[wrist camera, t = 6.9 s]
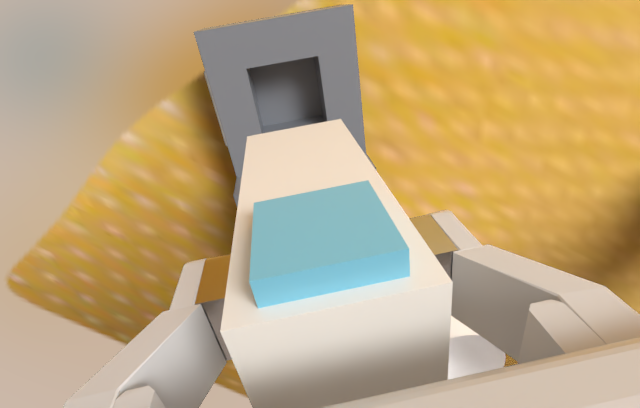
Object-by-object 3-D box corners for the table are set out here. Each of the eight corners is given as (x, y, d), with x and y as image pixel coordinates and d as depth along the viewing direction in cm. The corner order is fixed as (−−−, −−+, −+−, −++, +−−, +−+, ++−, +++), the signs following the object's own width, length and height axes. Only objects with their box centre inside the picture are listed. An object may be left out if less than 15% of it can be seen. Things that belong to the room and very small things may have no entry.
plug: (338, 104, 13) (454, 253, 5) (350, 200, 15) (445, 413, 7) (243, 121, 13) (208, 304, 5) (268, 216, 15) (272, 453, 7)
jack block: (341, 4, 26) (364, 4, 19) (364, 230, 35) (384, 276, 29) (201, 29, 25) (179, 36, 19) (264, 250, 35) (263, 301, 29)
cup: (460, 261, 39) (529, 353, 29) (409, 314, 42) (454, 414, 32) (400, 228, 36) (453, 318, 26) (349, 288, 39) (378, 390, 29)
